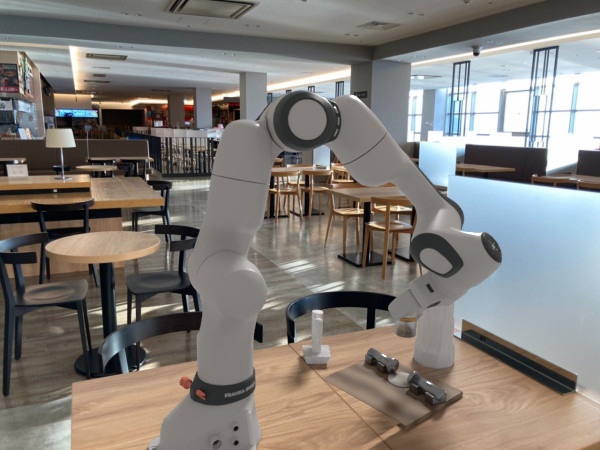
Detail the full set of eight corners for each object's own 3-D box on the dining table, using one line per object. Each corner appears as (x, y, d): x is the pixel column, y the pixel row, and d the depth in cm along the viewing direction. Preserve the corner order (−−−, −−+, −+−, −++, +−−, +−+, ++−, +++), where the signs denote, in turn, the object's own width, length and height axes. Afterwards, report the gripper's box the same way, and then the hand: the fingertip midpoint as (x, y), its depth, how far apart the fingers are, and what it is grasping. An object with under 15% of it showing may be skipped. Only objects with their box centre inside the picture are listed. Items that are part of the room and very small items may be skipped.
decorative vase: (406, 355, 137) (411, 270, 133) (435, 348, 142) (441, 266, 137) (431, 372, 127) (437, 280, 123) (462, 364, 132) (469, 276, 127)
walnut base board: (405, 430, 102) (406, 424, 102) (321, 382, 121) (321, 377, 121) (462, 395, 116) (463, 390, 116) (378, 357, 135) (379, 352, 135)
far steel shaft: (399, 372, 125) (400, 357, 124) (386, 376, 122) (387, 361, 122) (377, 358, 132) (377, 344, 131) (364, 361, 130) (364, 347, 129)
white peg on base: (327, 355, 136) (329, 304, 133) (331, 371, 127) (332, 317, 124) (302, 355, 136) (303, 304, 133) (303, 371, 127) (304, 317, 124)
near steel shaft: (405, 388, 116) (406, 373, 116) (419, 384, 119) (420, 368, 118) (433, 406, 109) (434, 390, 108) (447, 401, 111) (448, 385, 110)
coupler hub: (407, 339, 115) (409, 303, 113) (390, 333, 119) (392, 297, 117) (420, 334, 118) (422, 299, 116) (403, 327, 122) (405, 293, 120)
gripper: (458, 266, 117) (422, 294, 126) (406, 282, 104) (370, 312, 113) (474, 288, 114) (436, 315, 123) (423, 307, 101) (384, 336, 110)
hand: (404, 314), depth 118 cm, fingers closed on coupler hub, 5 cm apart
